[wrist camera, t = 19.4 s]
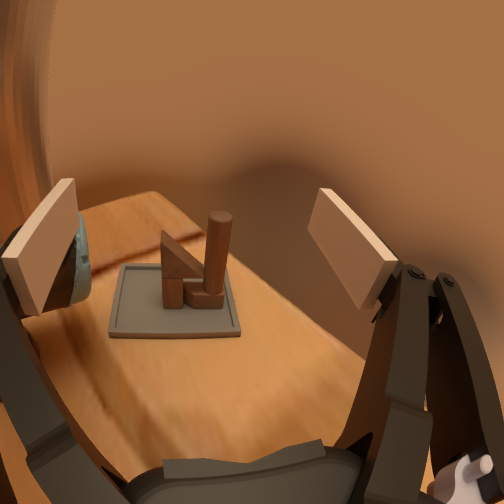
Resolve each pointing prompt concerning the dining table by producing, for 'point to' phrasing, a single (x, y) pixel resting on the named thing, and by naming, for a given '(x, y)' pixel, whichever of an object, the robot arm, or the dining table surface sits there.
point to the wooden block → (196, 267)
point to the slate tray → (165, 320)
